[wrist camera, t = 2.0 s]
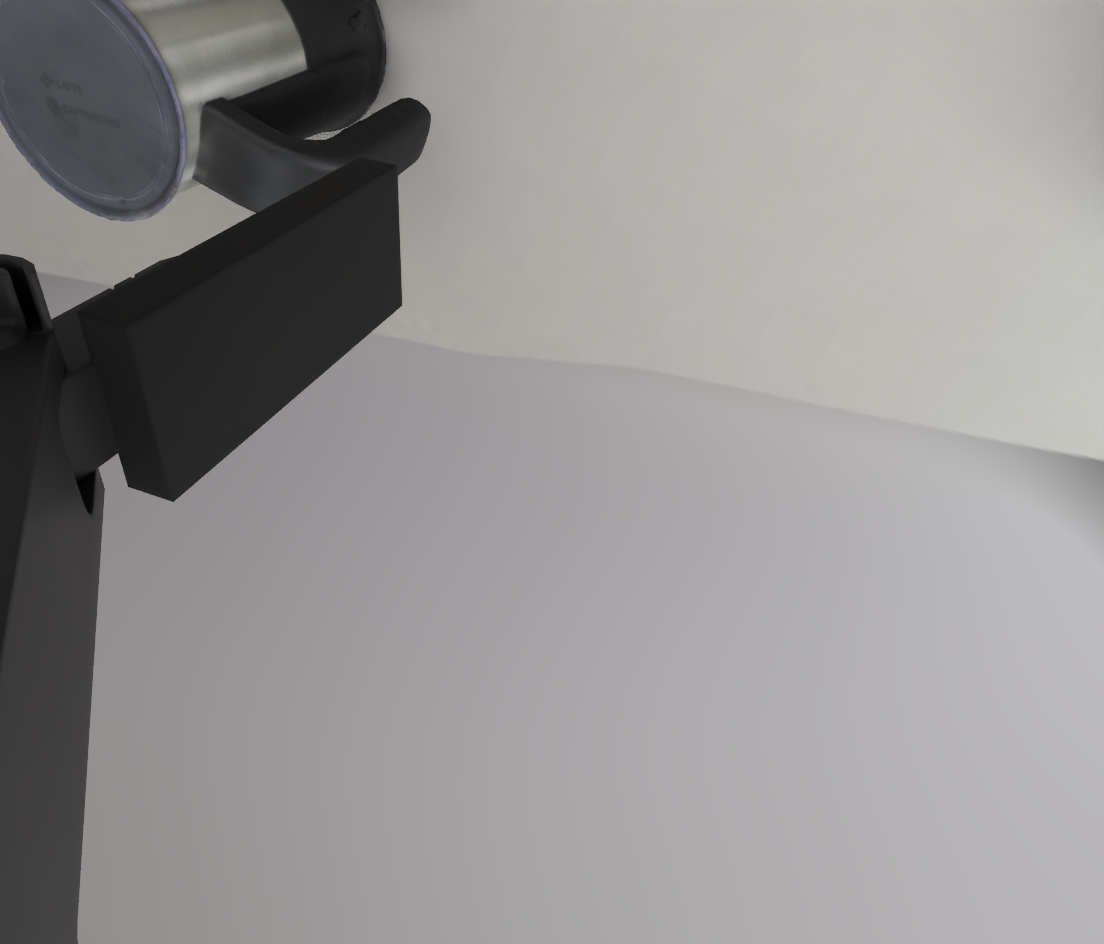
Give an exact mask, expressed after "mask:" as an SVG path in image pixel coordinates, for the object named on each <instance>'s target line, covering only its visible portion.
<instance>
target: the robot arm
mask: <svg viewBox="0 0 1104 944" xmlns="http://www.w3.org/2000/svg"><path fill="white" fill-rule="evenodd" d="M401 306H402V288H401V260H400V232H399V204H398V176H397V165H394V164H389V163H385V162H380V161H375V160H370V159H366V158H361V157H358V158H356V159H355V160H353V161H351V162H349V163H347V164H346V165H344V166H342V167H340V168H338V169H336V170H335V171H333V172H331V173H329V174H327V175H325V176H324V177H322V178H320V179H318V180H316V181H314V182H313V183H311V184H309V185H307V186H305V187H303V188H302V189H300V190H298V191H296V192H294V193H292V194H291V195H289V196H287V197H285V198H283V199H281V200H280V201H278V202H276V203H274V204H272V205H270V206H269V207H267V208H265V209H263V210H261V211H259V212H258V213H256V214H254V215H252V216H250V217H249V218H247V219H245V220H243V221H241V222H239V223H238V224H236V225H234V226H232V227H230V228H228V229H227V230H225V231H223V232H221V233H219V234H217V235H216V236H214V237H212V238H210V239H208V240H206V241H205V242H203V243H201V244H199V245H197V246H195V247H194V248H192V249H190V250H188V251H186V252H184V253H183V254H181V255H179V256H176V257H172V258H168V259H165V260H161V261H159V262H157V263H155V264H153V265H152V266H150V267H148V268H146V269H144V270H142V271H140V272H139V273H137V274H135V277H134V278H131V277H129V278H127V279H126V280H124V281H122V282H120V283H118V284H116V285H114V289H110V288H109V289H107V290H105V291H103V292H102V293H100V294H98V295H96V296H94V297H92V298H90V299H89V300H87V301H85V302H83V303H82V304H79V305H77V306H76V307H74V308H72V309H70V310H68V311H66V312H65V313H63V314H61V315H59V316H57V317H55V318H53V319H52V320H51V317H50V314H49V311H48V308H47V305H46V302H45V299H44V295H43V292H42V289H41V286H40V283H39V280H38V277H37V273H36V270H35V267H34V264H32V263H31V262H29V261H27V260H25V259H24V258H21V257H16V256H10V255H5V254H0V944H78V940H77V918H78V903H79V887H80V871H81V855H82V839H83V824H84V807H85V792H86V791H85V790H86V776H87V774H86V773H87V760H88V744H89V728H90V712H91V696H92V681H93V665H94V649H95V633H96V617H97V601H98V584H99V569H100V552H101V537H102V522H103V505H104V490H105V488H104V485H103V482H102V479H101V476H100V472H99V469H98V467H100V466H101V465H102V464H104V463H105V462H106V461H108V460H109V459H110V458H112V457H113V456H114V455H116V454H117V453H118V454H119V457H120V460H121V464H122V467H123V471H124V474H125V477H126V481H127V484H128V487H130V488H133V489H136V490H139V491H143V492H146V493H148V494H151V495H155V496H157V497H161V498H163V499H166V500H169V501H172V502H174V501H175V500H176V499H177V498H178V497H180V496H181V495H182V494H183V493H184V492H185V491H186V490H188V489H189V488H190V487H191V486H192V485H194V484H195V483H196V482H197V481H198V480H199V479H201V477H203V476H204V475H205V474H206V473H208V472H209V471H210V470H211V469H212V468H213V467H215V466H216V465H217V464H218V463H219V462H220V461H222V460H223V459H224V458H225V457H226V456H227V455H229V454H230V453H231V452H232V451H233V450H234V449H236V448H237V447H238V446H239V445H240V444H241V443H243V442H244V441H245V440H246V439H247V438H248V437H249V436H250V435H252V434H253V433H254V432H255V431H256V430H258V429H259V428H260V427H261V426H262V425H263V424H265V423H266V422H267V421H268V420H269V419H270V418H272V417H273V416H274V415H275V414H276V413H277V412H279V411H280V410H281V409H282V408H283V407H284V406H286V404H288V403H289V402H290V401H291V400H292V399H294V398H295V397H296V396H297V395H298V394H300V393H301V392H302V391H303V390H304V389H305V388H307V387H308V386H309V385H310V384H311V383H312V382H314V381H315V380H316V379H317V378H318V377H319V376H321V375H322V374H323V373H324V372H325V371H326V370H328V369H329V368H330V367H331V366H332V365H333V364H334V363H335V362H337V361H338V360H339V359H340V358H341V357H342V356H344V355H345V354H346V353H347V352H348V351H350V350H351V349H352V348H353V347H354V346H355V345H356V344H358V343H359V342H360V341H361V340H362V339H364V338H365V337H366V336H367V335H368V334H369V333H371V332H372V331H373V330H374V329H375V328H376V327H378V326H379V325H380V324H381V323H382V322H383V321H385V320H386V319H387V318H388V317H389V316H390V315H392V314H393V313H394V312H395V311H396V310H397V309H399V308H400V307H401Z"/></svg>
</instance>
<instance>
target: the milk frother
mask: <svg viewBox="0 0 1104 944" xmlns="http://www.w3.org/2000/svg"><path fill="white" fill-rule="evenodd" d="M385 64H386V42H385V34H384V27H383V23H382V20H381V17H380V11H379V8H378V6H377V3H376V1H375V0H0V121H1V122H2V124H3V126H4V128H5V129H6V131H7V133H8V134H9V136H10V138H11V139H12V141H13V142H14V144H15V145H16V147H17V149H18V150H19V151H20V152H21V153H22V155H23V156H24V157H25V158H26V160H27V161H28V162H29V163H30V164H31V166H32V167H33V168H34V169H35V170H36V171H37V172H38V173H39V174H40V176H41V177H42V178H43V179H44V180H45V181H46V182H47V183H48V184H49V185H50V186H52V187H53V188H54V189H55V190H56V191H58V192H59V193H61V194H62V195H63V196H65V197H66V198H67V199H68V200H70V201H71V202H73V203H74V204H76V205H77V206H79V207H81V208H83V209H85V210H87V211H89V212H91V213H93V214H95V215H98V216H101V217H105V218H107V219H109V220H119V221H135V220H143V219H146V218H149V217H151V216H153V215H155V214H157V213H158V212H159V211H161V210H162V209H163V208H164V207H165V206H166V205H167V204H168V203H169V202H170V201H171V200H172V198H173V197H174V196H175V195H176V194H179V193H181V192H183V191H185V190H188V189H190V188H192V187H195V186H197V185H199V184H203V185H205V186H206V187H208V188H210V189H212V190H213V191H215V192H217V193H219V194H221V195H222V196H224V197H226V198H228V199H229V200H231V201H233V202H235V203H236V204H238V205H240V206H242V207H244V208H247V209H249V210H251V211H253V212H255V213H258V212H259V211H261V210H263V209H265V208H267V207H269V206H270V205H272V204H274V203H276V202H278V201H280V200H281V199H283V198H285V197H287V196H289V195H291V194H292V193H294V192H296V191H298V190H300V189H302V188H303V187H305V186H307V185H309V184H311V183H313V182H314V181H316V180H318V179H320V178H322V177H324V176H325V175H327V174H329V173H331V172H333V171H335V170H336V169H338V168H340V167H342V166H344V165H346V164H347V163H349V162H351V161H353V160H355V159H356V158H358V157H361V158H366V159H370V160H375V161H380V162H385V163H389V164H394V165H397V176H398V175H399V174H400V173H402V172H403V171H404V170H406V169H407V168H408V167H409V166H411V165H412V164H413V163H415V162H416V160H417V159H418V158H419V157H420V155H421V153H422V150H423V148H424V145H425V142H426V139H427V136H428V132H429V128H430V122H431V115H430V113H429V111H428V109H427V108H426V107H425V106H424V105H423V104H421V103H420V102H419V101H417V100H414V99H412V98H405V99H400V100H398V101H396V102H394V103H392V104H390V105H388V106H386V107H384V108H383V109H381V110H379V111H377V112H376V113H374V114H372V115H370V116H369V117H367V118H366V119H364V120H362V121H359V122H357V123H355V122H356V121H357V120H359V119H360V118H361V117H362V116H363V115H364V114H365V113H366V112H367V111H368V110H369V108H370V107H371V105H372V104H373V103H374V101H375V99H376V97H377V94H378V92H379V89H380V87H381V84H382V82H383V77H384V74H385ZM353 123H355V124H353ZM351 124H353V125H351ZM350 125H351V126H350ZM348 126H350V127H348ZM345 127H348V128H346V129H344V130H342V131H341V132H340V133H339V134H337V135H335V136H333V137H331V138H329V139H327V140H306V139H305V138H308V137H310V136H313V135H316V134H319V133H321V132H331V131H336V130H340V129H343V128H345Z"/></svg>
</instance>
